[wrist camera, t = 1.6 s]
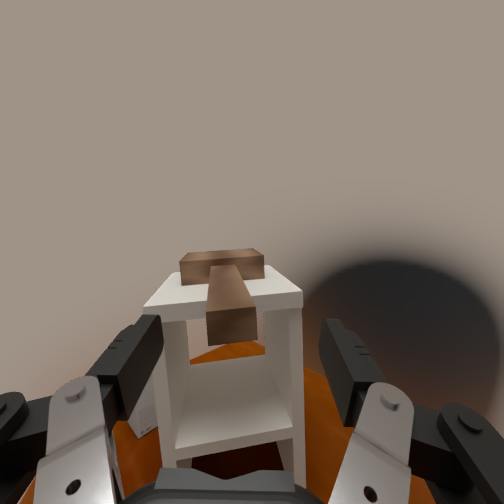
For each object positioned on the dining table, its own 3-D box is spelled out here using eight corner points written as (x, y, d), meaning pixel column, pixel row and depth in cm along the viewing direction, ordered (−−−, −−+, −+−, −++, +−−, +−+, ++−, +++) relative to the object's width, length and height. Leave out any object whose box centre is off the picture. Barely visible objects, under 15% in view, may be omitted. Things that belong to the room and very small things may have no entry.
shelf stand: (274, 408, 49) (268, 264, 45) (308, 512, 31) (302, 290, 28) (187, 423, 46) (172, 272, 43) (170, 546, 29) (142, 306, 25)
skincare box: (160, 425, 47) (153, 369, 45) (137, 440, 44) (130, 381, 42) (147, 409, 51) (141, 358, 49) (126, 422, 48) (119, 368, 46)
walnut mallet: (253, 266, 44) (252, 248, 44) (313, 332, 17) (312, 287, 17) (189, 271, 43) (187, 252, 42) (143, 354, 16) (137, 304, 15)
